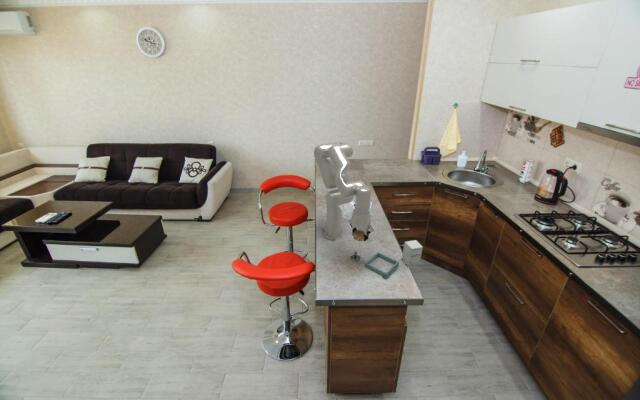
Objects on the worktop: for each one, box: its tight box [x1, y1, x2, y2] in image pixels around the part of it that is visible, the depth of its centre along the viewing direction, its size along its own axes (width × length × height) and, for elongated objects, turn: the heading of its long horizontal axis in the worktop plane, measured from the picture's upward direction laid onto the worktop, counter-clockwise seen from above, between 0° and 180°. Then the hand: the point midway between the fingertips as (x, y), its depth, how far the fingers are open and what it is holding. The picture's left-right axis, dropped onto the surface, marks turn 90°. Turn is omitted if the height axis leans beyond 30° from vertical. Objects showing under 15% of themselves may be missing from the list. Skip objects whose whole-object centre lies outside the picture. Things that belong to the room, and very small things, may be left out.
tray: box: [364, 251, 400, 280], centre depth 169 cm, size 14×14×3 cm
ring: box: [352, 229, 365, 242], centre depth 167 cm, size 7×7×3 cm
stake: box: [349, 251, 362, 262], centre depth 175 cm, size 6×6×5 cm
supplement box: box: [401, 239, 424, 268], centre depth 171 cm, size 7×7×13 cm
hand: (360, 237), depth 168 cm, fingers closed on ring, 7 cm apart
